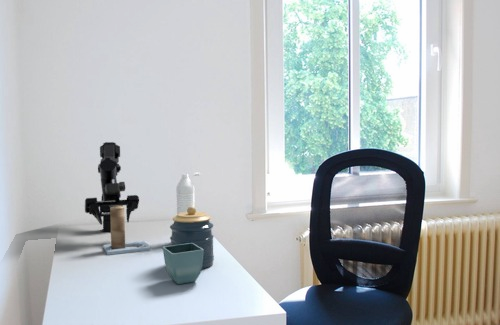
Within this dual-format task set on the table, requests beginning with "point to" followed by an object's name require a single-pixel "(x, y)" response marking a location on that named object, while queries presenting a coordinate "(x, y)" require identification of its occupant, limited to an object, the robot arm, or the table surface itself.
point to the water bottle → (185, 193)
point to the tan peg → (117, 227)
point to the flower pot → (183, 262)
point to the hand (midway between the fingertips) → (114, 222)
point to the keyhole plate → (128, 250)
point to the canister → (194, 232)
